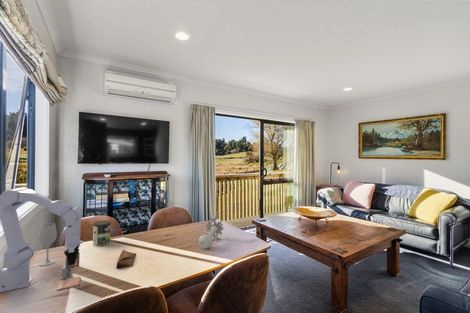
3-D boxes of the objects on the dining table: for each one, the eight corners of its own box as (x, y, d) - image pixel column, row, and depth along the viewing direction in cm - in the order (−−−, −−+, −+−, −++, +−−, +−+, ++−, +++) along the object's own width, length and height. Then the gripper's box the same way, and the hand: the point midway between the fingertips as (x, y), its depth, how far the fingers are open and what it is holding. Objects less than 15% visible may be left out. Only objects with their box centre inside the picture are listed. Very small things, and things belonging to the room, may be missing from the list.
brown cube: (65, 269, 102) (65, 258, 102) (66, 264, 106) (66, 254, 106) (78, 266, 105) (79, 256, 105) (79, 262, 109) (79, 251, 109)
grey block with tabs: (59, 281, 105) (60, 269, 105) (63, 270, 116) (63, 259, 116) (67, 279, 107) (67, 267, 107) (70, 268, 117) (70, 258, 117)
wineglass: (41, 261, 125) (42, 223, 125) (58, 258, 128) (58, 222, 128) (35, 267, 118) (36, 227, 118) (53, 264, 121) (54, 226, 121)
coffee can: (113, 240, 157) (113, 220, 157) (104, 246, 147) (104, 225, 147) (98, 240, 157) (99, 220, 157) (89, 246, 147) (89, 224, 147)
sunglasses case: (133, 266, 120) (127, 256, 119) (121, 275, 118) (114, 265, 117) (136, 253, 137) (130, 244, 136) (125, 260, 135) (119, 251, 134)
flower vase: (210, 260, 144) (224, 237, 167) (213, 236, 139) (226, 216, 162) (192, 254, 147) (208, 232, 170) (194, 230, 142) (210, 211, 165)
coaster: (56, 290, 98) (56, 289, 98) (59, 282, 104) (59, 280, 104) (78, 285, 102) (79, 284, 102) (80, 277, 109) (80, 276, 109)
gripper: (82, 236, 102) (81, 266, 101) (83, 228, 114) (83, 254, 114) (63, 239, 98) (62, 270, 98) (66, 230, 110) (65, 257, 110)
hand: (72, 262), depth 105 cm, fingers closed on brown cube, 5 cm apart
